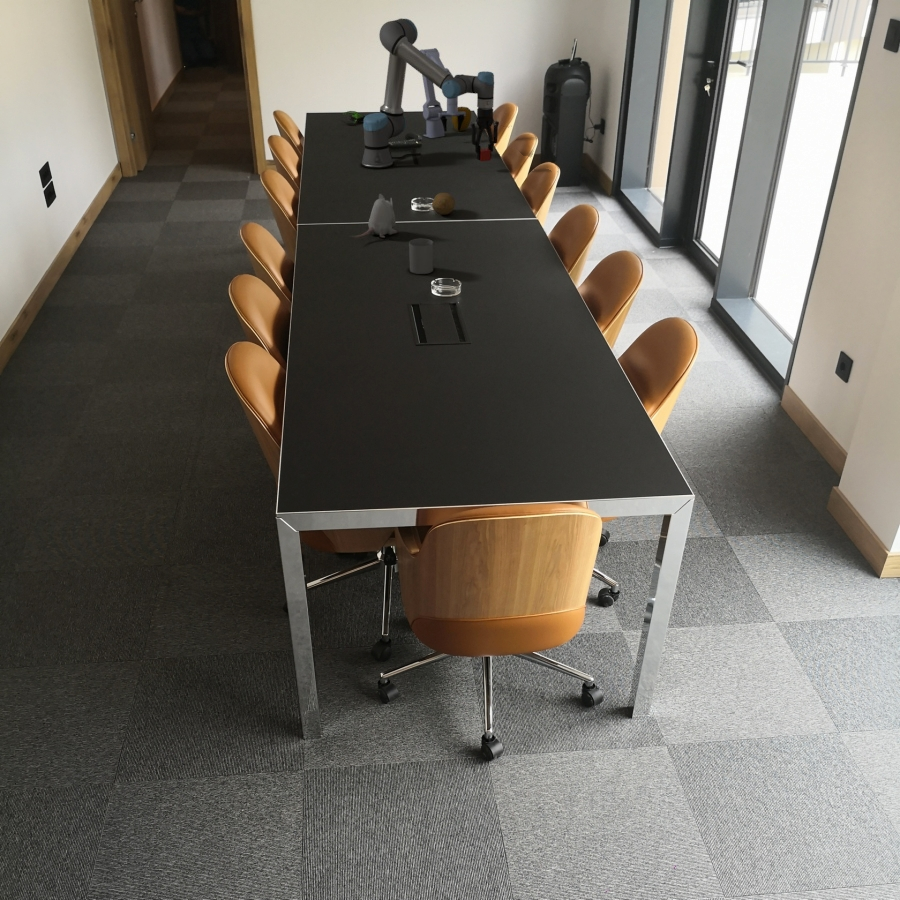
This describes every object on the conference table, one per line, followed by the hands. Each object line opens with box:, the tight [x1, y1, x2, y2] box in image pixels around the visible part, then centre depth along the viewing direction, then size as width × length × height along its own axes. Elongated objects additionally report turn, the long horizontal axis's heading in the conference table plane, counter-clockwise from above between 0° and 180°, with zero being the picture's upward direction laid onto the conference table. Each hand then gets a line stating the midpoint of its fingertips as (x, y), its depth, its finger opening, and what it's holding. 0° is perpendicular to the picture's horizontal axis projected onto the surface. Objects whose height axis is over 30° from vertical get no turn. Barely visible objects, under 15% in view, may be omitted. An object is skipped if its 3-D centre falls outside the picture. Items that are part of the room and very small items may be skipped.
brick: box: [479, 147, 492, 162], centre depth 415 cm, size 5×5×5 cm
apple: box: [451, 105, 472, 132], centre depth 487 cm, size 11×11×13 cm
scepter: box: [341, 110, 366, 126], centre depth 505 cm, size 6×13×30 cm
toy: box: [350, 193, 398, 239], centre depth 333 cm, size 9×24×15 cm, turn 137°
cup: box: [408, 237, 434, 275], centre depth 305 cm, size 8×8×10 cm
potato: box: [431, 192, 456, 216], centre depth 360 cm, size 10×14×8 cm
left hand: (484, 159), depth 416 cm, fingers closed on brick, 5 cm apart
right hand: (452, 130), depth 463 cm, fingers open, 7 cm apart
